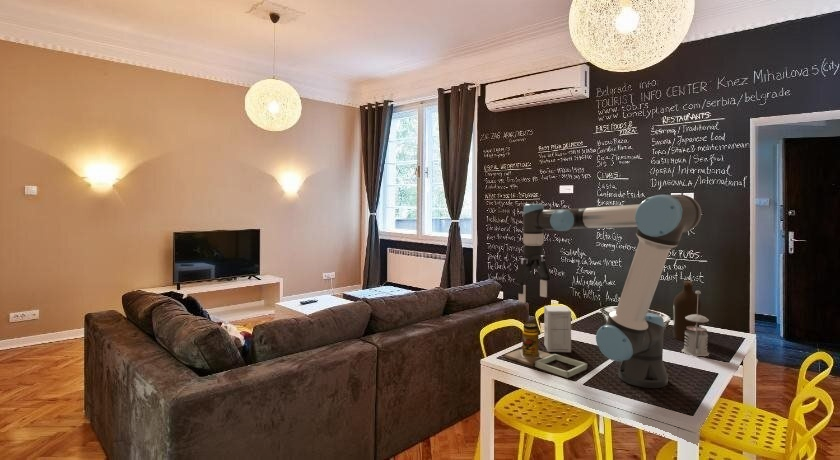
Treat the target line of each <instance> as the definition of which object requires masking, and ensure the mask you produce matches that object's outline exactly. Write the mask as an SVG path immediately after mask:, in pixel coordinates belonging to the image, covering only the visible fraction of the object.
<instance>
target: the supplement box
mask: <svg viewBox="0 0 840 460" xmlns="http://www.w3.org/2000/svg"><path fill="white" fill-rule="evenodd" d="M543 309H544V310H543V314H544V317H543V319H544V320H543V322H544V326H543V327H544V328H543V330H544V332H543V335H544V338H543V341H544V343H543V345H544V346H545V349H546V351H547V353H572V311H571V309H570V308H569V307H568V306H567V305H544V308H543Z"/></svg>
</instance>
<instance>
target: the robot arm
mask: <svg viewBox="0 0 840 460" xmlns="http://www.w3.org/2000/svg"><path fill="white" fill-rule="evenodd" d="M544 207H545V206H544V204H543V203H526V204H524V205H523V210H522V211H523V212H522V221H523V225H522V226H523V236H522V237H523V239H522V241H523V247H522V254H523V255H524V256H525V257H524V258H521V257H520V258H519V261H518V262H519V265H518V267H517V270H516V273H515V278H514V281H513V283H514V284H515V285H517V292H518V302H519V303H522V304H525V303H526V301H527V299H526V297H527V295H526V293H527V292H526V291H527V290H526V289H527V288H526V286H527V285H526V281H527V279H528V277H529V275H530V273H531V272H532V271H533V270H536V272H537V273H538V275H539V276H540V280H539V297H541V298H542V297H543V298H547V297H548V281H551V278H552V275H551V272H550V271H551V270H550V267H549V265H548V262H547V255H544V245H543V244H544V241H545V240H544V238H545V235H544V230H547V231H558V232H567V231H569V230H573V229H575V230H577V229H599V228H601V229H602V228H603V229H604V228H607V229H608V228H636V232H635V235H636V237H637V238H638V244H637V247H636V249H635V253H634V255H633V259H632V262H631V265H630V267H629V270H628V274H627V277H626V279H625V282H624V286H623V288H622V291H621V295H620V298H619V300H618V304H617V307H616V309H613V310H611V311H610V313H609V315H608V316H607V321H606V322H605V324H604V325H602V326H600V327H599V328H598V330H597V331H596V335H595V341H596V345H597V347H598V348H599V351H600V352H601V354H602V355H603V356H605V358H607V359H609V360H611V361H614V362H621V363H620V365H619V367H618V378H619V379H620V380H621V381H622V382H624V383H626V384H629V385H632V386H635V387H640V388H645V389H646V388H647V389H659V388H664V387H666V386H667V385H668V381H669V378H668V373H667V369H666V367H665V363H664V360H663V353H664V329H665V323H664V317H663V316H661V315H659V314H658V313H651V312H649V309H650V307H651V303H652V301H653V299H654V295H655V292H656V290H657V287H658V284H659V282H660V279H661V276H662V274H663V271H664V268H665V264H666V262H667V258H668V256H669V254H670V250H672V249H673V248H676V247H678V245H679V243H680V240H681V238H682V235H683V233H687V232H690V231H691V230H693V229H694V228H695V227H697V226H698V224H699V223H700V221H701V218H702V208H701V206H700V204H699V203H698V201H697V200H695V199H694V198H693V197H692V196H689V195H685V194H656V195H653V196H650V197H647V198H646V199H644V200H643V201H642V202H641V203H639V204H636V203H635V204H625V205H623V204H622V205H609V206H607V205H606V206H598V207H597V206H595V207H583V208H582V207H579V208H564V209H563V208H562V209H558V208H557V209H545V208H544Z"/></svg>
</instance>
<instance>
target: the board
mask: <svg viewBox="0 0 840 460" xmlns="http://www.w3.org/2000/svg"><path fill="white" fill-rule="evenodd" d="M519 350H523V349H522V348H519V349H516V350H514V351H511V352H507V353H505V354H504V358H506V359H509V360H512V361H515V362H518V363H521V364H523V365H526V366H529V367H532V366H533V367H535V361H537V360H540V359H543V358H545V357H548V356H550V355H553V353H550V352H545V351H542V350H540V349H538V352H539V353H540V355H541V357H542V358H523V357H522V355H521V353H520V351H519Z"/></svg>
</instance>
